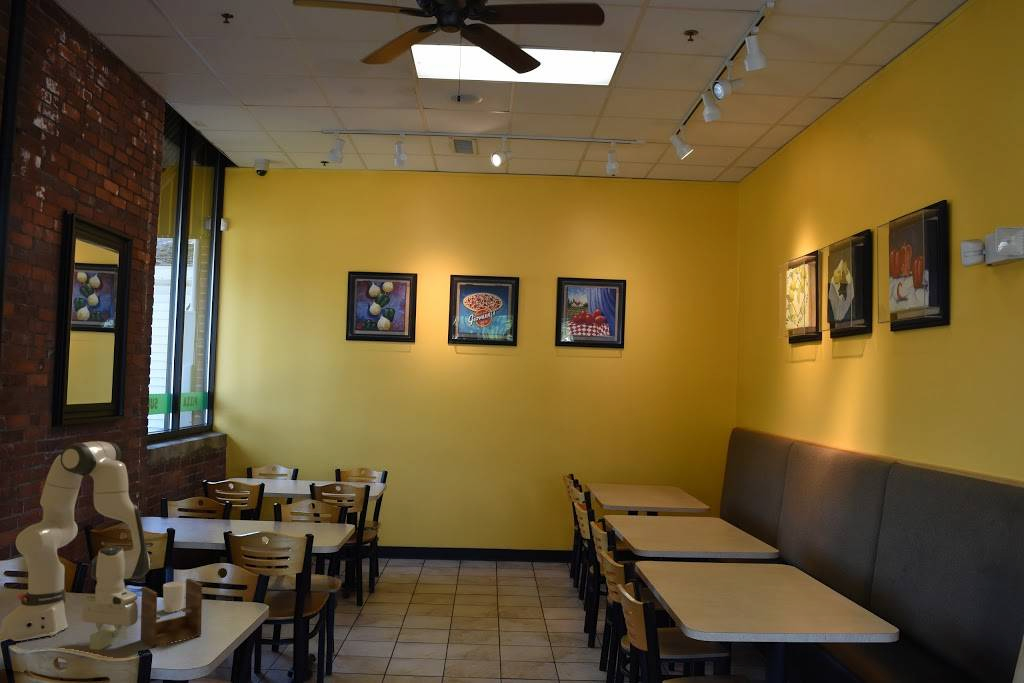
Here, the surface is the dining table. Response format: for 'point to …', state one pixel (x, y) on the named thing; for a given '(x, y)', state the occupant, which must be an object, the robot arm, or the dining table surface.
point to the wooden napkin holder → (174, 627)
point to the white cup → (173, 596)
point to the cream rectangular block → (106, 637)
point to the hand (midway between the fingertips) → (108, 636)
